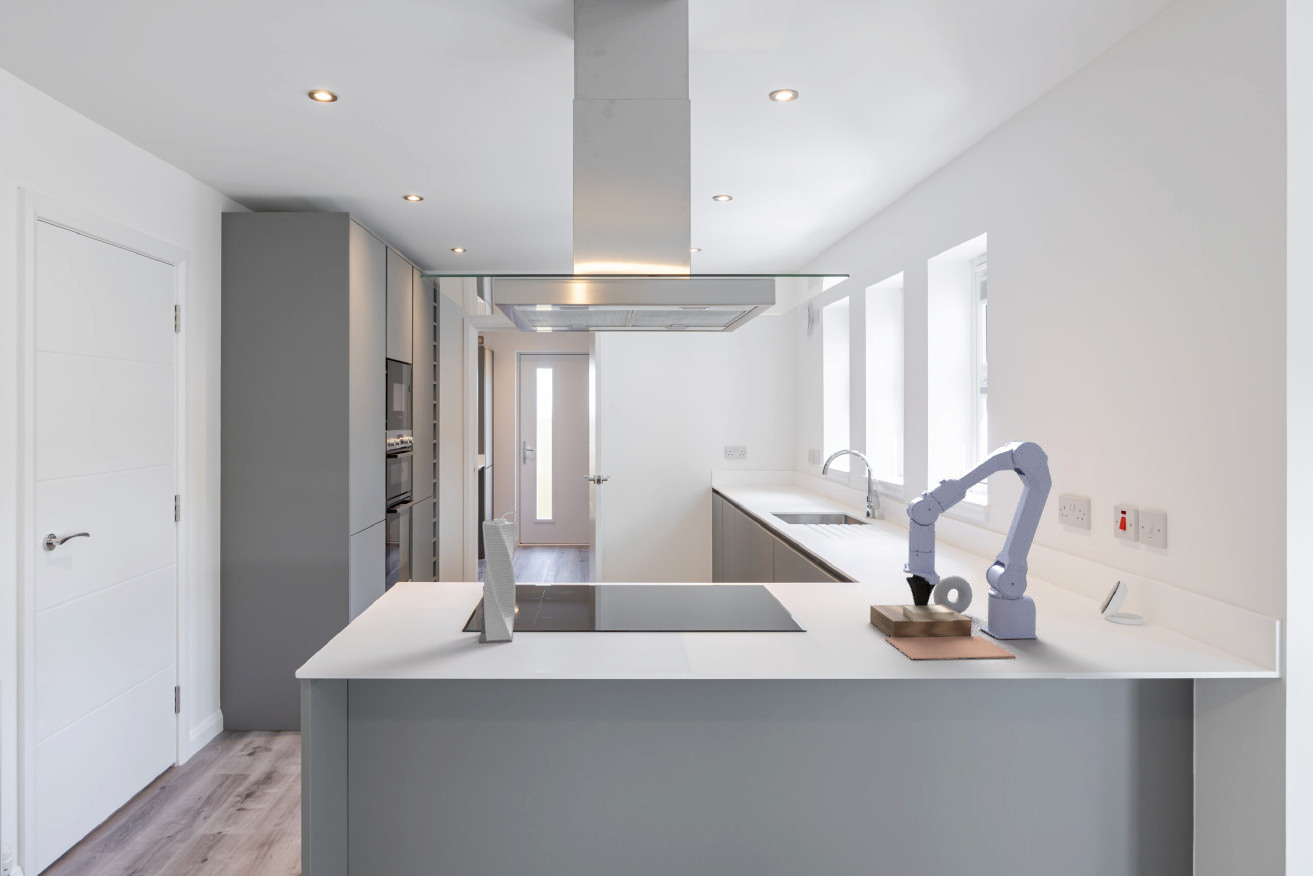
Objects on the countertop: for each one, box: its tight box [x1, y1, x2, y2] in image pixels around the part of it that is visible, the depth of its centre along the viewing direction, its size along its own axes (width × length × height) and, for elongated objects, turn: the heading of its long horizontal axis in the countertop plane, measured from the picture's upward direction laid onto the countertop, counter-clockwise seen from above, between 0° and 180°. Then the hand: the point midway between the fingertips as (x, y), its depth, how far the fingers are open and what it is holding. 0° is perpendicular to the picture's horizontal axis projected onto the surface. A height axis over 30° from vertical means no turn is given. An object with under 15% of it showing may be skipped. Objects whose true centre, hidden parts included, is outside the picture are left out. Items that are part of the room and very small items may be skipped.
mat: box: [884, 635, 1016, 661], centre depth 160 cm, size 22×14×1 cm, turn 95°
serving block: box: [869, 603, 973, 638], centre depth 175 cm, size 18×14×4 cm
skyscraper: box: [478, 510, 520, 644], centre depth 165 cm, size 8×8×28 cm
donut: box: [932, 574, 973, 614], centre depth 188 cm, size 10×4×10 cm, turn 99°
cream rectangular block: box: [903, 605, 953, 622], centre depth 170 cm, size 9×6×2 cm, turn 94°
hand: (920, 609), depth 174 cm, fingers closed
